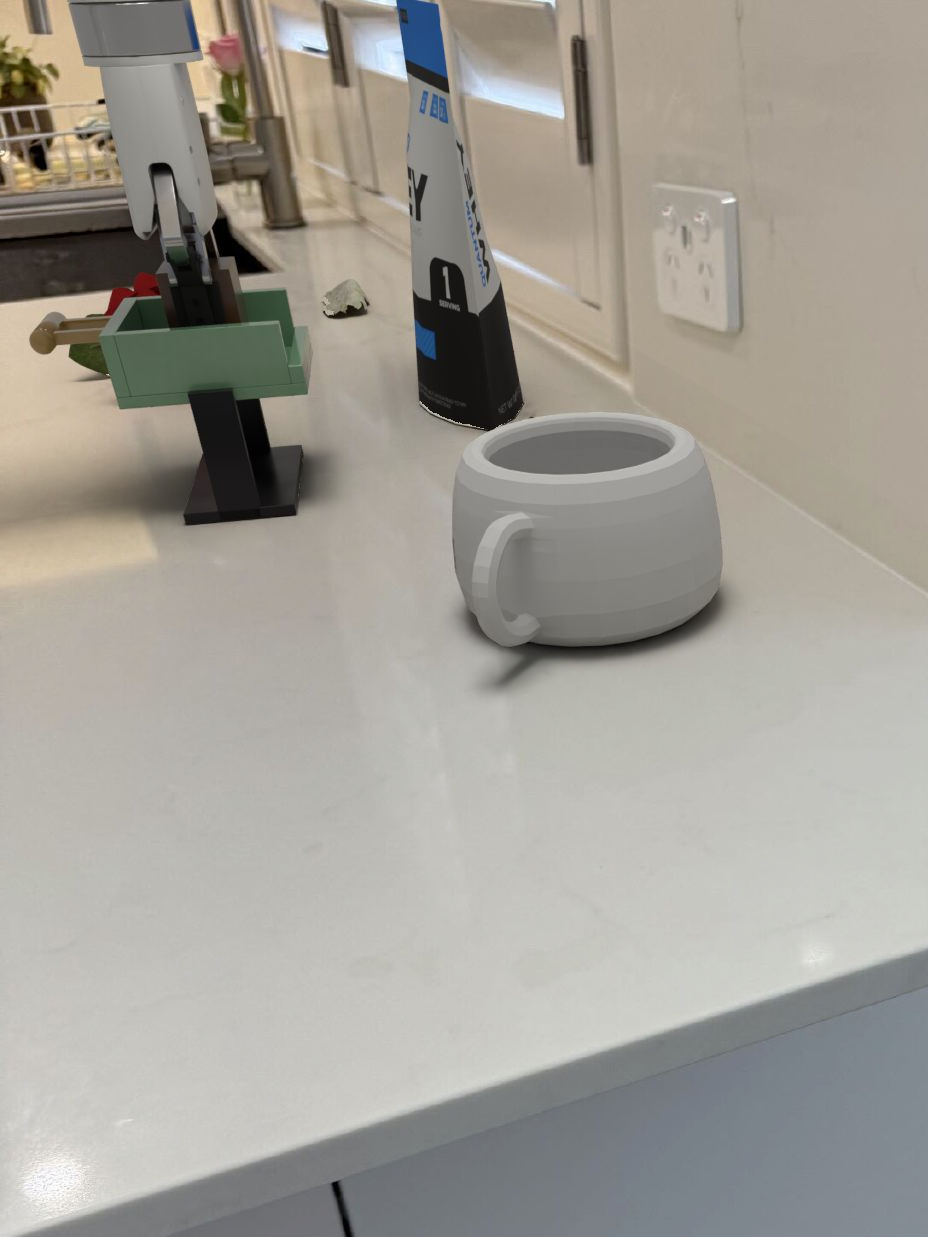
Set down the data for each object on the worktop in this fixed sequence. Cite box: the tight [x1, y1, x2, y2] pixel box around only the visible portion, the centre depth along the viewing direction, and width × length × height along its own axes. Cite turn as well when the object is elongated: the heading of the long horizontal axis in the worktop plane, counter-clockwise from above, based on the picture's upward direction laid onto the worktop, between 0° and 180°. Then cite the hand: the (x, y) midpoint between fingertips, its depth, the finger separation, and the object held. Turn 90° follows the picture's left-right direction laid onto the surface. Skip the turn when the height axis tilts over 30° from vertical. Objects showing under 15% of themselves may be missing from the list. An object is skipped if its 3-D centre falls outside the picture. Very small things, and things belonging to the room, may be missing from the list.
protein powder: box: [395, 0, 524, 431], centre depth 116 cm, size 10×24×30 cm, turn 19°
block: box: [154, 256, 249, 328], centre depth 98 cm, size 5×5×5 cm
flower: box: [68, 271, 161, 376], centre depth 136 cm, size 16×11×30 cm
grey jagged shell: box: [322, 278, 370, 315], centre depth 158 cm, size 12×5×4 cm
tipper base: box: [182, 388, 304, 526], centre depth 103 cm, size 8×16×9 cm, turn 13°
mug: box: [451, 411, 724, 648], centre depth 81 cm, size 21×17×10 cm
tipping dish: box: [28, 286, 314, 410], centre depth 99 cm, size 18×13×5 cm
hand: (211, 334), depth 99 cm, fingers closed on block, 5 cm apart
